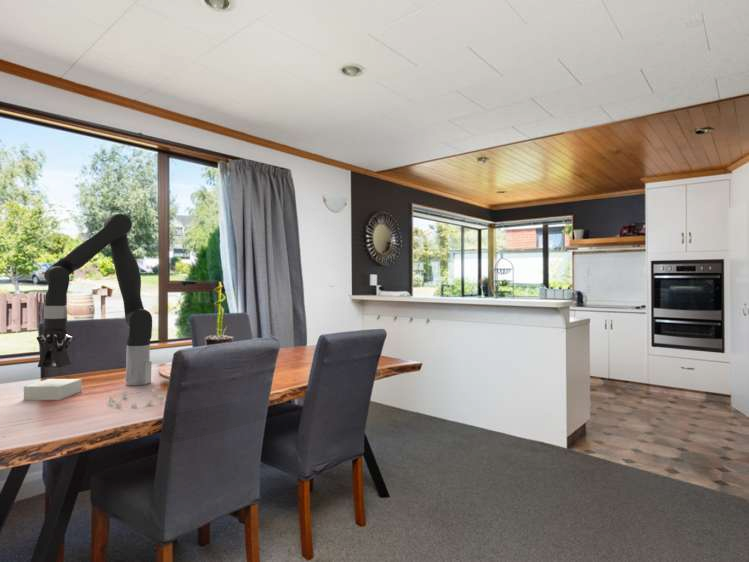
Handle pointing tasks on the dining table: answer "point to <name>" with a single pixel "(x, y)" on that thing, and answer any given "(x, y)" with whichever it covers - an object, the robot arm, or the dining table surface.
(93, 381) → the dining table surface
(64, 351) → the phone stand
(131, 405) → the game piece set
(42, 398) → the cream block
